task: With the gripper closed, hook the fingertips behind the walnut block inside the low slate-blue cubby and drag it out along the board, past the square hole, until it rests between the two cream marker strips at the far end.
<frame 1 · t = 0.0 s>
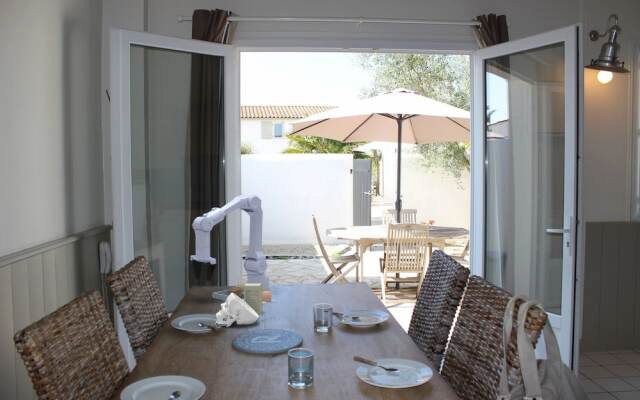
hand: (203, 279, 245), 10 cm above the table, tool pointing down, fingers open, 7 cm apart
peach rounded cylinder: (266, 301, 245), point 1 cm above the table, touching slate board with cubby
slate board with cubby: (243, 302, 249), on the table
walnut block: (235, 299, 248), point 1 cm above the table, touching slate board with cubby
skincare box: (253, 316, 226), on the table
skull bowl: (237, 324, 216), on the table
beech block: (241, 294, 257), point 1 cm above the table, touching slate board with cubby
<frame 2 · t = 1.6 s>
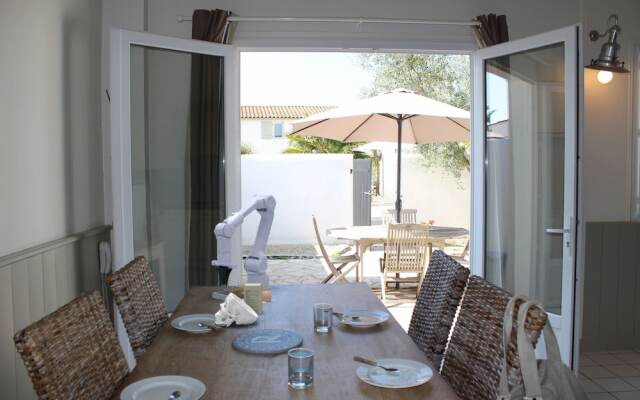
hand: (224, 284, 252), 7 cm above the table, tool pointing down, fingers closed
nothing on the table moved.
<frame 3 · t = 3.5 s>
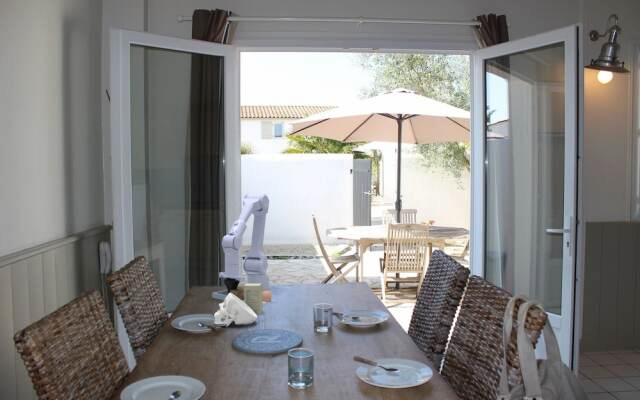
hand: (232, 296, 249), 2 cm above the table, tool pointing down, fingers closed
walnut block: (237, 299, 247), point 2 cm above the table, touching gripper, slate board with cubby
everything else where it was.
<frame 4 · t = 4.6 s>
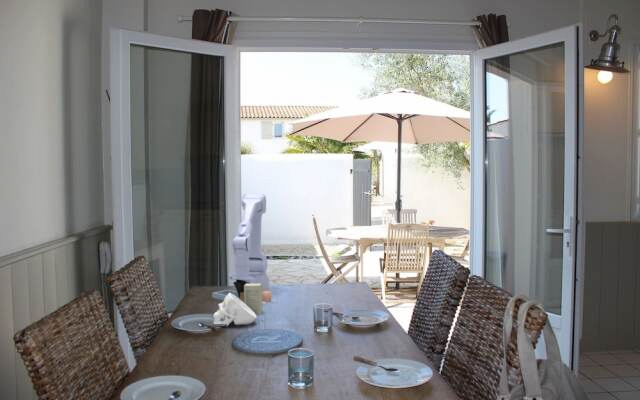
hand: (242, 298, 245), 2 cm above the table, tool pointing down, fingers closed
walnut block: (247, 302, 243), point 2 cm above the table, touching gripper, slate board with cubby
everything else where it was.
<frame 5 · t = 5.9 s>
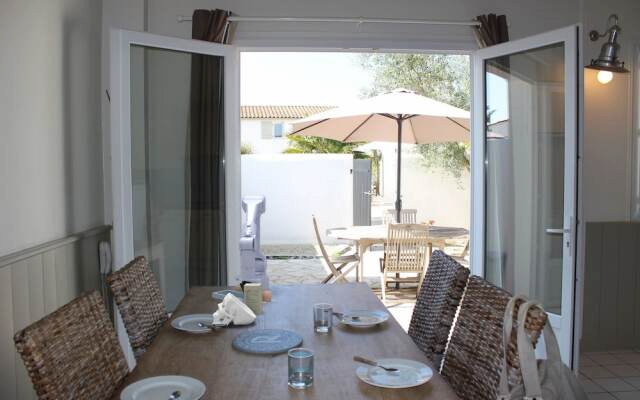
hand: (248, 300, 242), 2 cm above the table, tool pointing down, fingers closed
walnut block: (253, 303, 240), point 2 cm above the table, touching gripper, slate board with cubby
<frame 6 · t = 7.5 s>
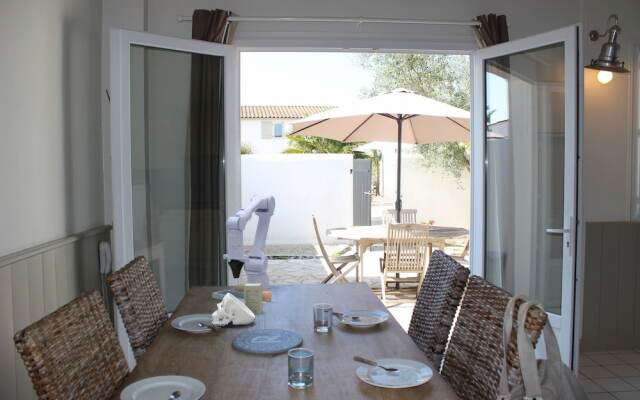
hand: (236, 278, 251), 10 cm above the table, tool pointing down, fingers closed
walnut block: (253, 303, 240), point 1 cm above the table, touching slate board with cubby
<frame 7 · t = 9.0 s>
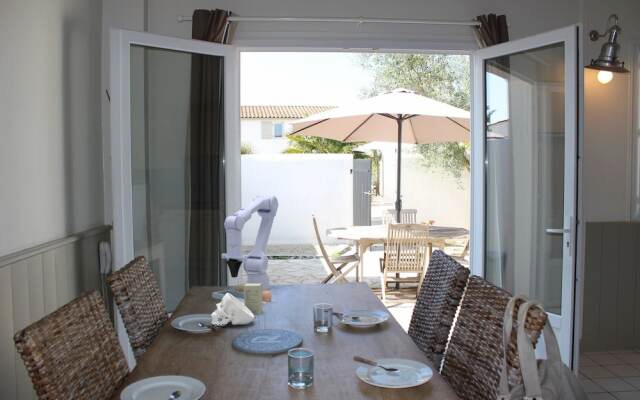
hand: (234, 277, 252), 10 cm above the table, tool pointing down, fingers closed
at the end: walnut block 0.4 cm from the target spot, point 1.5 cm above the table; walnut block tilted 0° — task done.
